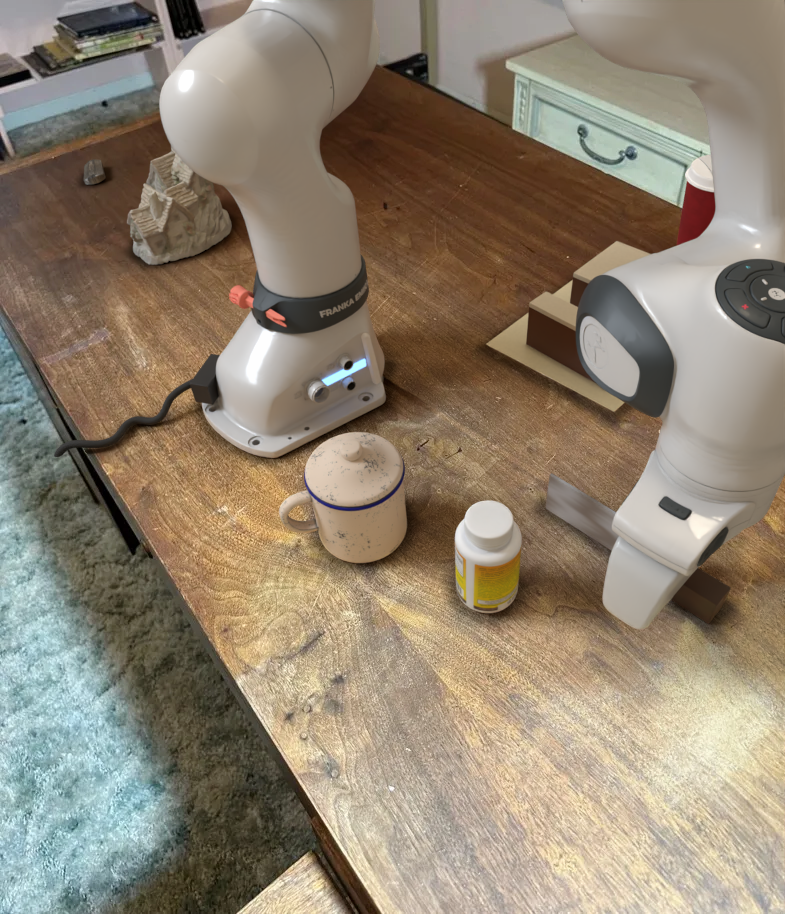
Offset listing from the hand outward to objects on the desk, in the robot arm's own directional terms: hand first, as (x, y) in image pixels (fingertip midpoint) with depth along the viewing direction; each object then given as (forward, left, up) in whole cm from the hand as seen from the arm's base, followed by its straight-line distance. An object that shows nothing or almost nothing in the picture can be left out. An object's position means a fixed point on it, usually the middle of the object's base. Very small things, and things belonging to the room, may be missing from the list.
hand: (676, 578), depth 67 cm
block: (+8, +115, -2) cm, 115 cm away
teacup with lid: (-15, +26, -2) cm, 30 cm away
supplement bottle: (-11, +12, -2) cm, 17 cm away
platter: (+26, +25, -2) cm, 36 cm away
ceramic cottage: (+7, +88, -2) cm, 88 cm away
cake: (+30, +24, -1) cm, 39 cm away
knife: (0, +5, -2) cm, 5 cm away
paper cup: (+46, +24, -2) cm, 52 cm away
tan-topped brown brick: (+19, +24, -1) cm, 31 cm away
